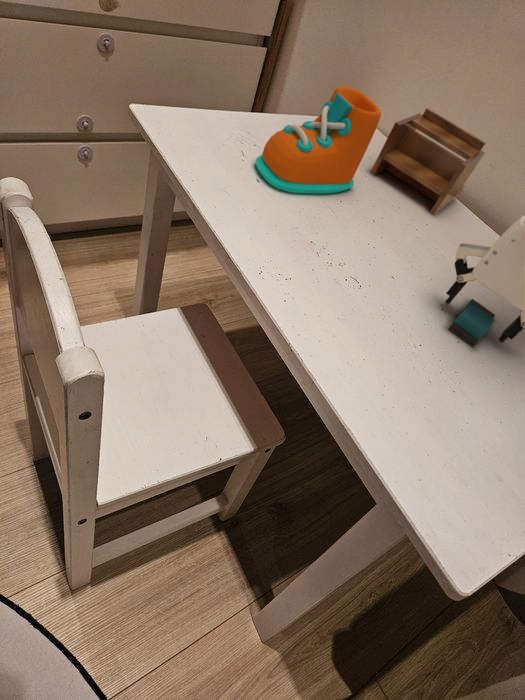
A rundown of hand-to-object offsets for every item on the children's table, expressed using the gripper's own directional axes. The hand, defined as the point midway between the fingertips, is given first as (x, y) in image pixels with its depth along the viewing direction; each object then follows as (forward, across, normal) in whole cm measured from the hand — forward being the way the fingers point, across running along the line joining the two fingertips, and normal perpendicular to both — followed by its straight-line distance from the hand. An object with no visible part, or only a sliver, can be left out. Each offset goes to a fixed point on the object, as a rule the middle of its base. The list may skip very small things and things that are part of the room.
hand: (475, 318), depth 72 cm
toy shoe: (+2, +40, -8) cm, 41 cm away
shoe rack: (+1, +26, -31) cm, 41 cm away
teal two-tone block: (+2, 0, 0) cm, 2 cm away
